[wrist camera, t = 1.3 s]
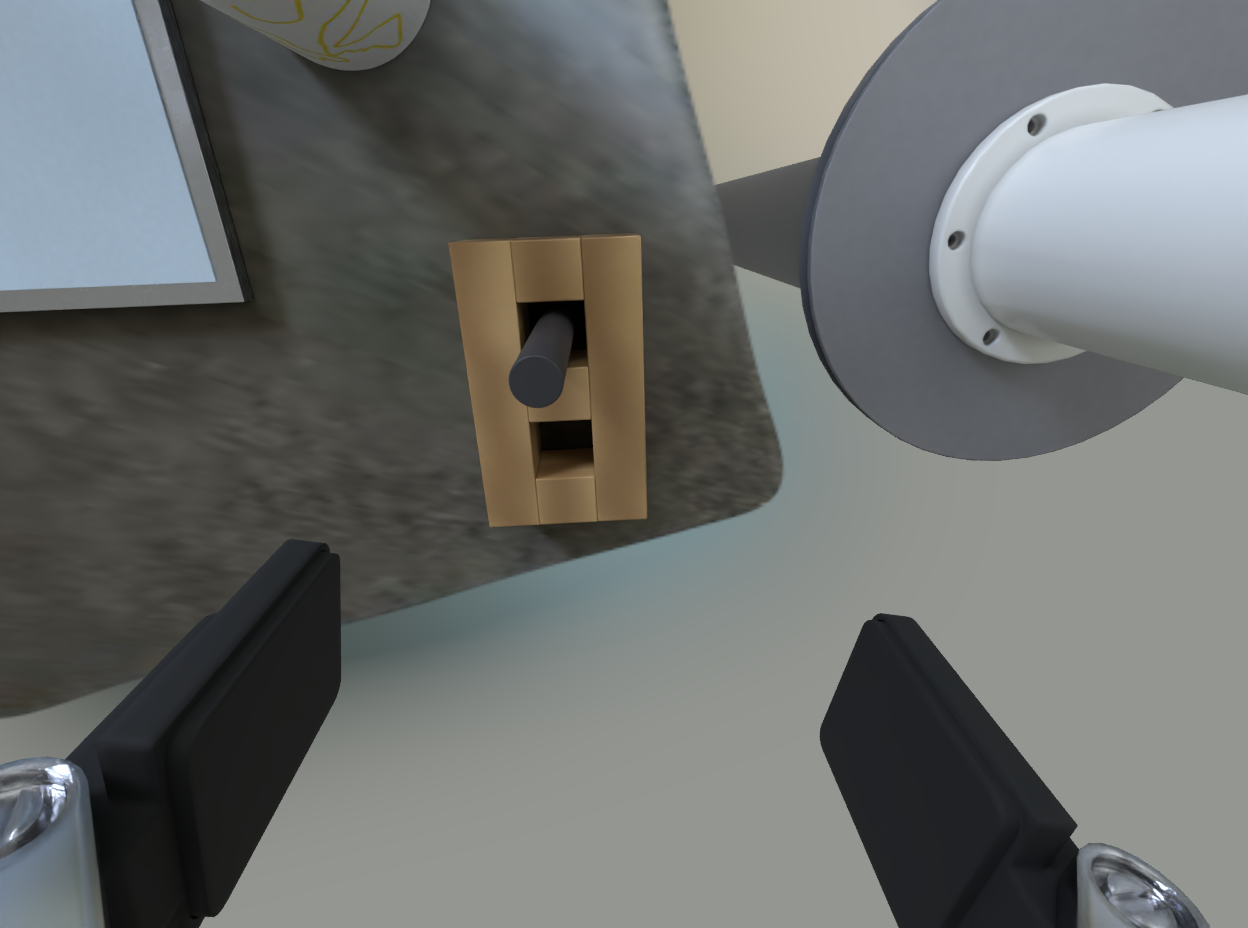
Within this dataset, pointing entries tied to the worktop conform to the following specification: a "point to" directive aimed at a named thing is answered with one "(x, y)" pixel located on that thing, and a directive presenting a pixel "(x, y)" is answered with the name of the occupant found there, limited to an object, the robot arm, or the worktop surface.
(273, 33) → the cup
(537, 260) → the holder
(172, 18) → the tablet
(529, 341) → the stylus
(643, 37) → the worktop surface
